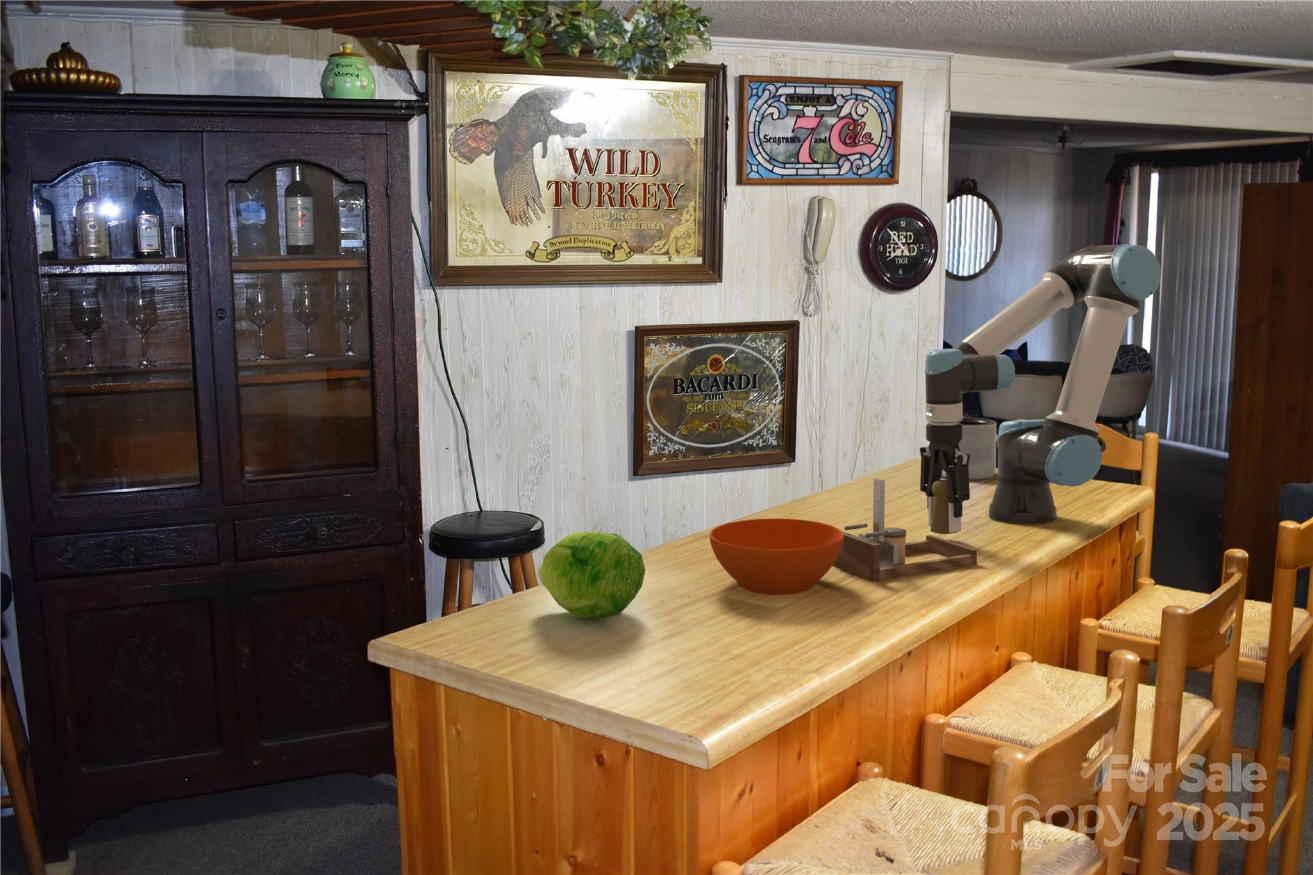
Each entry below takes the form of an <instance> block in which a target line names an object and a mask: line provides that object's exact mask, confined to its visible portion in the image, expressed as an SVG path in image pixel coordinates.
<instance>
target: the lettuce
mask: <svg viewBox="0 0 1313 875" xmlns="http://www.w3.org/2000/svg"><path fill="white" fill-rule="evenodd" d="M537 572H538V573H537V575H538V578H539V579H540V582H541V584H542V586H544V588H545V589H546V590H547V591H548V592H549V594H550V595H551V597H552V598H553V599H554V601H555V603H556V604H557V605H558V606H559V607H561V608H562V609H563V610H565V611H567V612H569V613H570V614H572V615H574V616H575V617H578V618H579V617H580V618H585V619H590V620H595V619H599V620H603V619H606V618H612V617H615V616H619V615H621V614H622V612H624V611H625V610H626V609H627V607H628V606H629V605H630V604H631V603H632V602H633V601H634V600H635V599H636V597H637V595H638V593H639V592H640V591H641V588H642V587H643V584H644V579H645V574H646V568H645V564H644V560H643V555H642V554H641V553H640V552H639V551H638V550H637V549H636V548H635V547H634V546H633V545H632V544H631V543H629V541H628V540H626V539H624V537H622V536H620V535H619V534H617V533H610V532H597V531H596V532H594V531H578V532H573V533H572V534H568V535H566V536H565V537H564V538H562V539H561V540H560V541H558V542H557V543H556V544H554V546H552V547H551V548H550V549H549V550H548V551H547V552H546V553H545V555H544V556H543V559H542V562H541V565H540V566H539V568H538V570H537Z"/></svg>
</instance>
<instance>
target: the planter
mask: <svg viewBox="0 0 1313 875" xmlns="http://www.w3.org/2000/svg"><path fill="white" fill-rule="evenodd" d="M959 423H961V424H962V440H961V441H960V442H959V448H960V452H961V453H963V454H969V455H970V460H969V465H968V467H969V482H970V481H985V480H989V479H991V478H992V477H994V476H995V475H996V472H997V469H996V468H997V465H996V463H997V460H996V459H997V450H996V449H997V422H996V420H992V419H990V418H989V419H988V418H983V417H982V418H981V417H965V416H963V419H962V421H960V422H959ZM949 467H953V466H949ZM941 478H942V479H943V478H944V479H947V477H946V472H945V471H942V476H941Z"/></svg>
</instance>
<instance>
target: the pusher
mask: <svg viewBox="0 0 1313 875" xmlns="http://www.w3.org/2000/svg"><path fill="white" fill-rule="evenodd" d="M885 492H886V480H885V479H884V478H879V477H878V478H873V495H872V496H873V504H872V505H873V508H872V510H873V511H872V516H873V517H872V533H874V532H881V531H884V528H885V506H886V504H885V501H886V500H885V499H886V497H885V494H886V493H885ZM865 534H867V533H865V532H862V533H858V537H860V538H863V539H866V540H869V541H872V542H874V543H877V544H880V568H884V567H890V566H897V565H899V545H897V544H895V543H892V542H889V541H886V540H884V535H883V536H876V537H869V538H866V536H865Z"/></svg>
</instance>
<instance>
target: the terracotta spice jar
mask: <svg viewBox="0 0 1313 875" xmlns="http://www.w3.org/2000/svg"><path fill="white" fill-rule="evenodd" d="M884 531H889V535H884V540H886V541H889V542H892V543H895V544H897V545H899V565H903V564H906V555H905V543H907V542H906V540H907V538H906V536H907V530H906V529H905V528H903V527H893V526H892V527H884Z"/></svg>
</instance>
